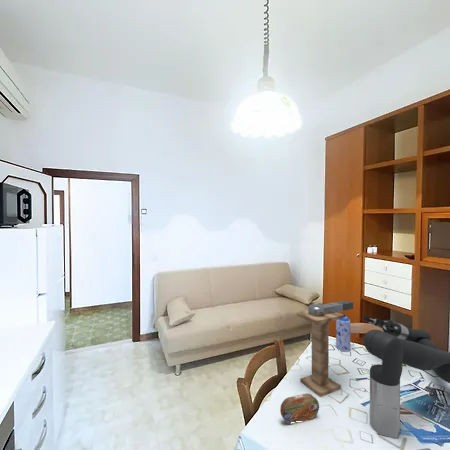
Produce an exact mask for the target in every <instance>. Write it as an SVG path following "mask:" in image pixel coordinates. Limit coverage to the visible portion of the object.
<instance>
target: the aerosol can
mask: <svg viewBox="0 0 450 450" xmlns="http://www.w3.org/2000/svg"><path fill="white" fill-rule="evenodd" d="M342 314H343V315H344V319H339V320H335V333H336V334H335V335H336V336H335V337H336V338H335V349H336V348H337V349H338V351H339V350H340V351H339V352H342V353H349V352H351V350H352V349H351V319H349V317H348V316H346V314H345V313H342ZM337 349H336V350H337Z"/></svg>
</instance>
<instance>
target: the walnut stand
mask: <svg viewBox="0 0 450 450" xmlns="http://www.w3.org/2000/svg"><path fill="white" fill-rule="evenodd" d="M343 314H344V313H341V312H336V313H331V314H326V315H324V316H322V317H314V316H312V315H309V314H308V309H307V310H303V311H297V312H296V317H299V318H301V319H303V320H305V321H308V322H309V323H311V374H310V375H307V376H304V377H302V378H300V379H299V380H300V381H299V382H300V383H301V384H302V385H303V386H305V387H306V388H308V390H310V391H312V392H313V393H314V394H316V395H317V396H318V397H320V398H322V397H325V396H326V395H329V394H332V393H334V392H337V391H340V390H342V387H341V386H342V385H341V384H340V383H337V382H336V381H334V380H332V379H331V378H330V376H329V366H330V365H329V359H330V357H329V354H330V353H329V343H330V342H329V337H330V336H329V331H330V329H329V323H331V322H334V321H335V322H336V320H339V319H344V315H343Z"/></svg>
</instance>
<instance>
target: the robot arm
mask: <svg viewBox="0 0 450 450" xmlns="http://www.w3.org/2000/svg"><path fill="white" fill-rule="evenodd" d="M362 320H363V321H364V322H366V324H369V325H372V326H373V327H377V328H379V329H371V330H369V331H367V332H366V333H365V335H364V336H363V346H364V347H365V350H366V351H367V352H368V353H370V354H371V355H372V356H374V357H375V358H378V359H379V360H382V362H381V363H382V364H381V363H380V364H372V365H371V366H370V368H369V425H370V426H371V428H372V429H373V430H374V431H375V432H376V435H377V434H378V435H381V436H385V437H390V438H394V439H398V438H399V435H400V434H401V393H400V392H401V377H402V373H403V364H404V365H407V366H408V367H411V368H413V369H415V370H416V369H417V370H420V371H432V372H433V373H434V374H435V375H436V376H437V377H438V378H440V379H441V380H443V381H444V382H446V383H448V384H450V351H446V350H442V349H440V348H439V346H437V345H436V344H435V343H434V342H433V341H432V336H431V335H430V333H428V332H427V331H425V330H423V329H417V328H416V329H415V328H410V327H407V326H404V324H402V323H399V322H397V321H394V320H391V319H386V320H382V319H381V318H374V319H373V318H372V317H371V318H370V317H368V316H365V315H363V316H362ZM380 329H382V330H383V331H382V330H380Z"/></svg>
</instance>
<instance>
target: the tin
mask: <svg viewBox="0 0 450 450" xmlns="http://www.w3.org/2000/svg"><path fill="white" fill-rule="evenodd" d="M319 408H320V403H319V401H318V399H317V398H316V396H314V395H312V394H310V393H307V392H306V393H302V394H298V395H292V396H289V397H287V398H285V399H283V400H282V402H281V404H280V408H279V409H280V410H279V411H280V415H281V417H282V419H283V420H284V422H285V423H286V424H288V425H290V424H289V423H291V422H296V421H303V422H306V420H308V421H311V420H313V419H314V418H315V417H317V415H318V413H319V410H320V409H319Z"/></svg>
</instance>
